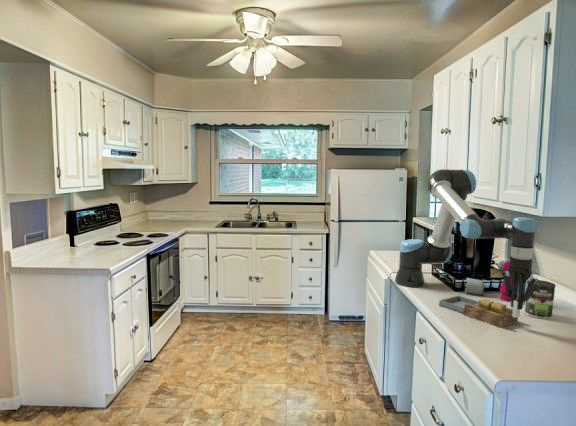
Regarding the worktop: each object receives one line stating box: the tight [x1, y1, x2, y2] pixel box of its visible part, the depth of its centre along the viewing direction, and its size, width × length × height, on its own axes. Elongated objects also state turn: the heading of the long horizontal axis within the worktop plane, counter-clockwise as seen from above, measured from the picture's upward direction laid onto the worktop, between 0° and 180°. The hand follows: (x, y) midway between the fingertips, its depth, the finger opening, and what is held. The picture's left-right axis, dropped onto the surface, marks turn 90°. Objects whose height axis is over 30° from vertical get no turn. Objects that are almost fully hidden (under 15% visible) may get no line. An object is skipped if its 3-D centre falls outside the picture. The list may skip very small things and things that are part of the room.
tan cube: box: [478, 298, 495, 311], centre depth 169 cm, size 4×4×4 cm
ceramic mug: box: [464, 277, 485, 296], centre depth 202 cm, size 11×8×8 cm
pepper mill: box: [499, 258, 512, 302], centre depth 192 cm, size 7×7×20 cm
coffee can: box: [524, 279, 556, 320], centre depth 173 cm, size 10×10×14 cm
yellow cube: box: [491, 301, 507, 315], centre depth 164 cm, size 4×4×4 cm
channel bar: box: [463, 299, 519, 329], centre depth 167 cm, size 16×12×5 cm
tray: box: [438, 295, 479, 315], centre depth 181 cm, size 12×14×2 cm
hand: (515, 316), depth 159 cm, fingers closed
